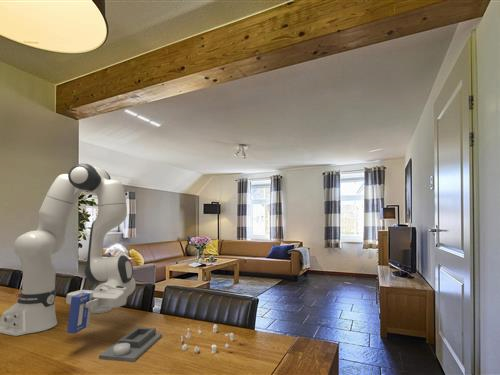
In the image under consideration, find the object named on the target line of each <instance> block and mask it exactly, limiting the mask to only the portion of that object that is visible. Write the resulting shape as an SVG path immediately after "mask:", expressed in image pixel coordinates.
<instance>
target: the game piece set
mask: <svg viewBox="0 0 500 375" xmlns="http://www.w3.org/2000/svg"><path fill="white" fill-rule="evenodd" d="M218 328H219V326H218V325H217V324H214V325H213V326H212V331H213V333H214V334H216V333H217V330H218ZM190 331H191V329H190V327H188V328H187V333H186V334H185V335H181V336H180V339H181V340H180V341H181V343H183V342H184V336H185V338H187V339H188V338H191V337H192V334H191V333H190ZM197 332H198V334H199V335H200V334H202V331H201V327H200V326H198V330H197ZM234 335H235V334H234V333H233V332H228V333H225V334H224V336H225V337H228V336H229V337H230V338H229V339H230V341H231V342H233V341H234V338H235V336H234ZM181 348H182V349H181V350H182V351H187V350H188V345H187V343H183V345H182V346H181ZM225 348H226V349H229V348H230V344H228V343H226V344H225ZM186 349H187V350H186ZM211 349H212V350H211V354H216V353H217V351H216V349H217V345H216V344H212V345H211ZM193 352H195V354H198V352H200V348H199V347H198V346H195V348H194V350H193Z"/></svg>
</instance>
